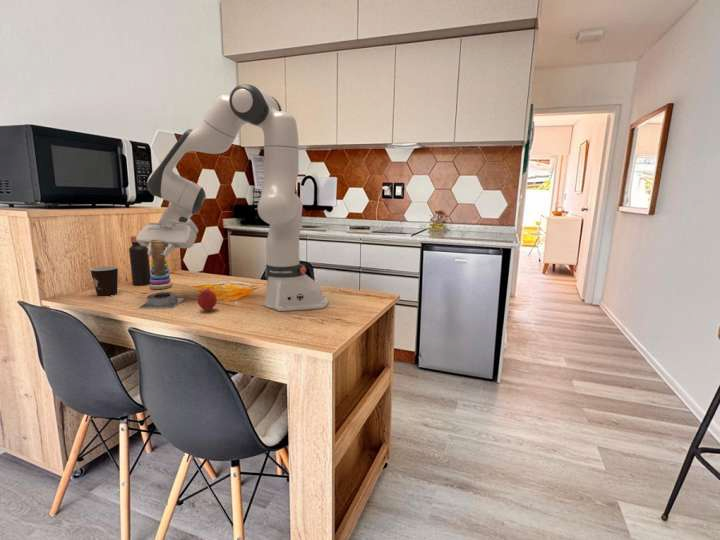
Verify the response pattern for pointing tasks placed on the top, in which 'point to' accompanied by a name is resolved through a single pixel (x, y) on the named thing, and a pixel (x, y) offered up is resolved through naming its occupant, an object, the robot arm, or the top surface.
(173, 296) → the collar
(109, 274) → the coffee mug
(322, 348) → the top surface
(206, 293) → the onion
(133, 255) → the bottle
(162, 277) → the stacking toy
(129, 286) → the top surface
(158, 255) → the dowel
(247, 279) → the top surface
